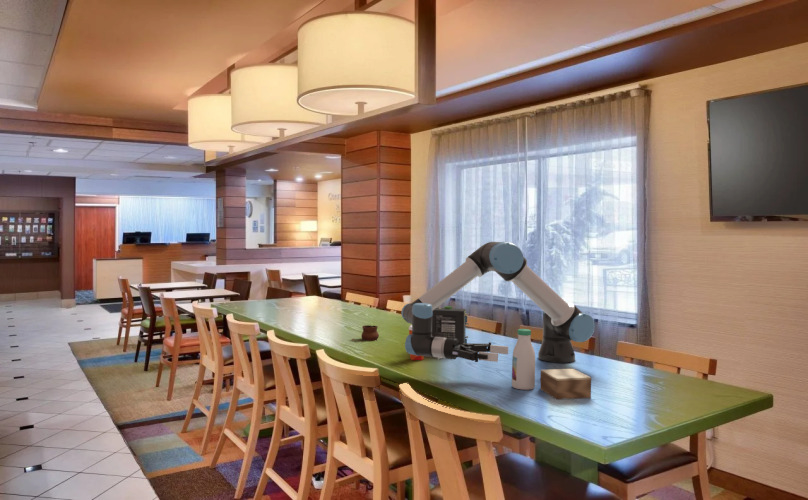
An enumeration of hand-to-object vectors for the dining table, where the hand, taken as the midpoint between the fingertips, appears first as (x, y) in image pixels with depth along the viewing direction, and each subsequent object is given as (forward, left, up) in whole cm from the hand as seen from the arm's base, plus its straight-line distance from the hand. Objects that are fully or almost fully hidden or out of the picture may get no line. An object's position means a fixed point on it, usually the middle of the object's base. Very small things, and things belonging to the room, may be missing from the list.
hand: (503, 353), depth 197 cm
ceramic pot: (+35, -90, -12) cm, 98 cm away
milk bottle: (-6, +4, -11) cm, 13 cm away
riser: (-17, +13, -11) cm, 24 cm away
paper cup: (+21, -44, -11) cm, 50 cm away
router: (+4, -58, -11) cm, 59 cm away
